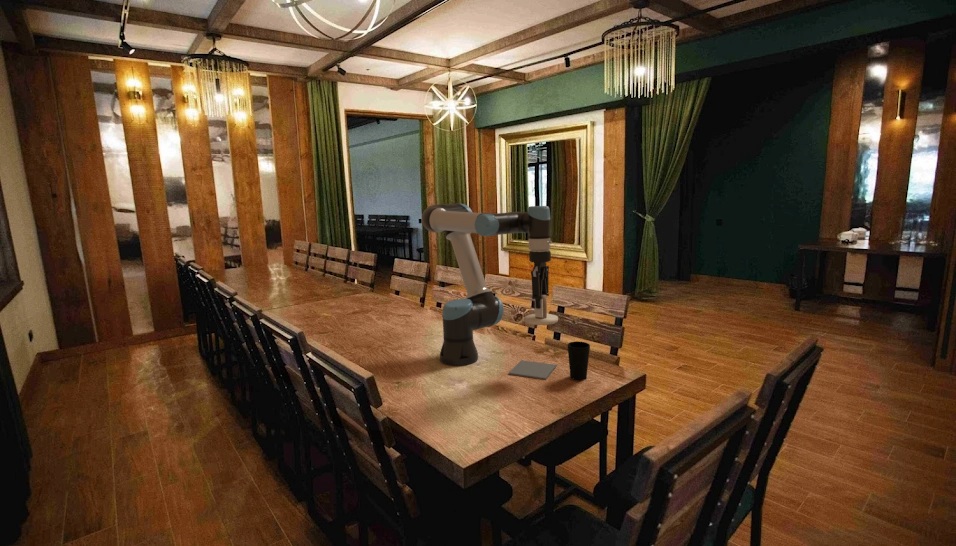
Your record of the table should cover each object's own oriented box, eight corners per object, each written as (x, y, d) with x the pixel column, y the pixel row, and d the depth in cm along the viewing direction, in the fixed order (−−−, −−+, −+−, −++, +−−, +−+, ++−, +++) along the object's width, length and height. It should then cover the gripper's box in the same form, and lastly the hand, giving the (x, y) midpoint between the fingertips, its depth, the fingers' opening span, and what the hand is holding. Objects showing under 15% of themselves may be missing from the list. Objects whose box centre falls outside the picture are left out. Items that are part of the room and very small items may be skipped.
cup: (589, 382, 164) (590, 348, 163) (567, 381, 166) (567, 347, 164) (589, 374, 172) (589, 341, 170) (567, 372, 173) (567, 341, 171)
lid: (519, 323, 169) (518, 298, 168) (530, 315, 180) (530, 291, 178) (552, 326, 164) (552, 299, 163) (562, 318, 175) (561, 293, 173)
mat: (508, 374, 173) (508, 372, 173) (521, 361, 186) (521, 360, 186) (546, 379, 168) (546, 378, 168) (556, 366, 180) (556, 364, 180)
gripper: (542, 253, 159) (543, 322, 162) (557, 247, 174) (557, 310, 178) (521, 253, 162) (523, 320, 166) (537, 247, 177) (538, 309, 181)
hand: (541, 315), depth 172 cm, fingers closed on lid, 4 cm apart
